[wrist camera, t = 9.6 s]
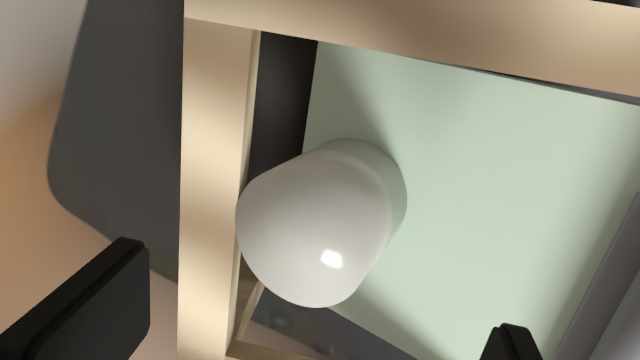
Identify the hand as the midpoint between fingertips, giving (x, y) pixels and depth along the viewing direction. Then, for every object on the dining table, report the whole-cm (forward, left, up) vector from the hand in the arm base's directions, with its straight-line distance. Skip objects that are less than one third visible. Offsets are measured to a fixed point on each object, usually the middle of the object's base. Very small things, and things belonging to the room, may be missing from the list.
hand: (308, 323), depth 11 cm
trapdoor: (0, +5, -8) cm, 9 cm away
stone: (0, 0, -8) cm, 8 cm away
